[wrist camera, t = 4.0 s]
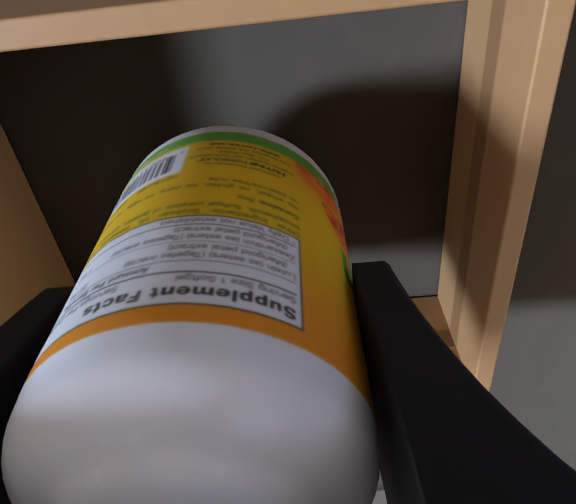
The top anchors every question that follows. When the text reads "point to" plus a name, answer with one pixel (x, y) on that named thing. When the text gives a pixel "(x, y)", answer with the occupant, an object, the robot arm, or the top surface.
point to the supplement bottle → (205, 344)
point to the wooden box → (465, 158)
